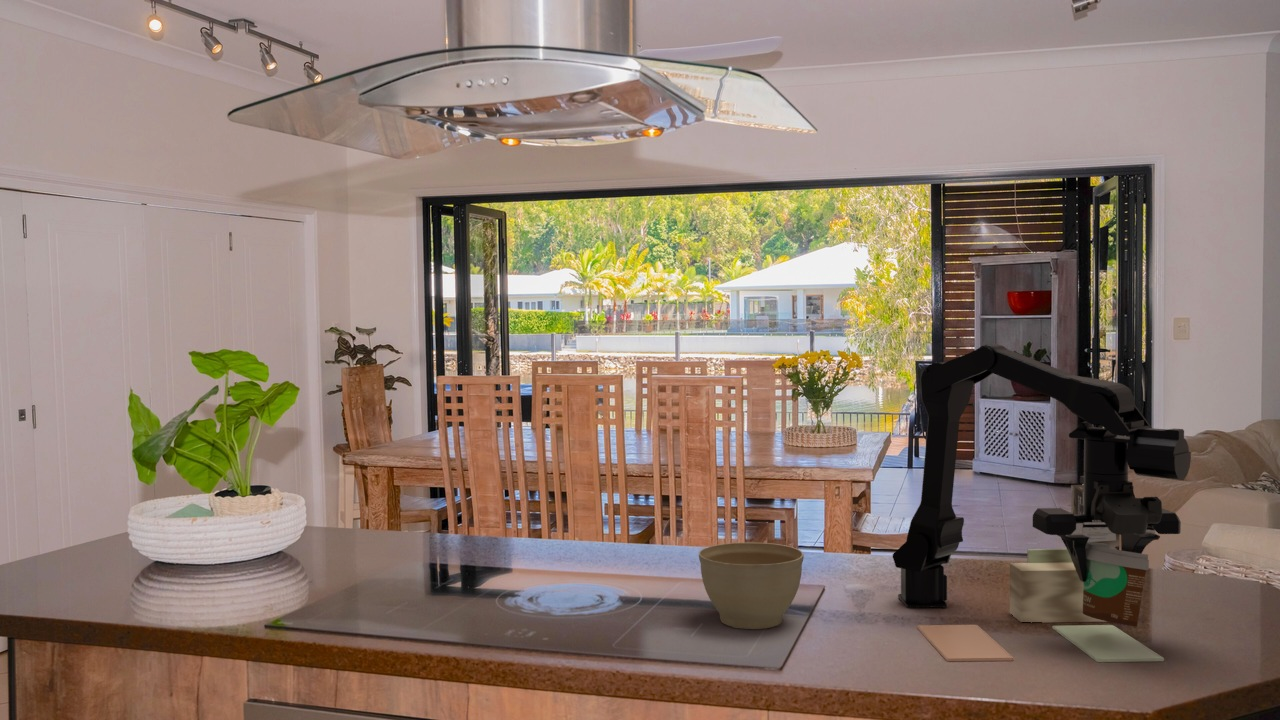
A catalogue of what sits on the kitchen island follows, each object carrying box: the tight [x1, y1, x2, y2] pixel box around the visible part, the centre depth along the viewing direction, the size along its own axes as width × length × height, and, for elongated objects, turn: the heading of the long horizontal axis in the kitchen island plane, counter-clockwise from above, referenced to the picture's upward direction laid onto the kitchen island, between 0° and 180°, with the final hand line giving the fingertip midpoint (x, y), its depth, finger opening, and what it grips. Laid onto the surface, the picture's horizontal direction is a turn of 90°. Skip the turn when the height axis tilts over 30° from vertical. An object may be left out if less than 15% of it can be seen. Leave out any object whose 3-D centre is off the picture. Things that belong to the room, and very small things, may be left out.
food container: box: [1083, 542, 1150, 628], centre depth 144 cm, size 12×6×10 cm, turn 1°
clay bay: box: [916, 624, 1014, 662], centre depth 146 cm, size 9×15×1 cm, turn 0°
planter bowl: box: [698, 542, 804, 630], centre depth 157 cm, size 16×16×11 cm
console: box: [1009, 548, 1108, 624], centre depth 158 cm, size 14×6×10 cm, turn 90°
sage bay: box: [1052, 624, 1165, 663], centre depth 145 cm, size 9×15×1 cm, turn 0°
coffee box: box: [1070, 484, 1120, 550], centre depth 181 cm, size 9×6×16 cm
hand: (1104, 581), depth 144 cm, fingers closed on food container, 6 cm apart
